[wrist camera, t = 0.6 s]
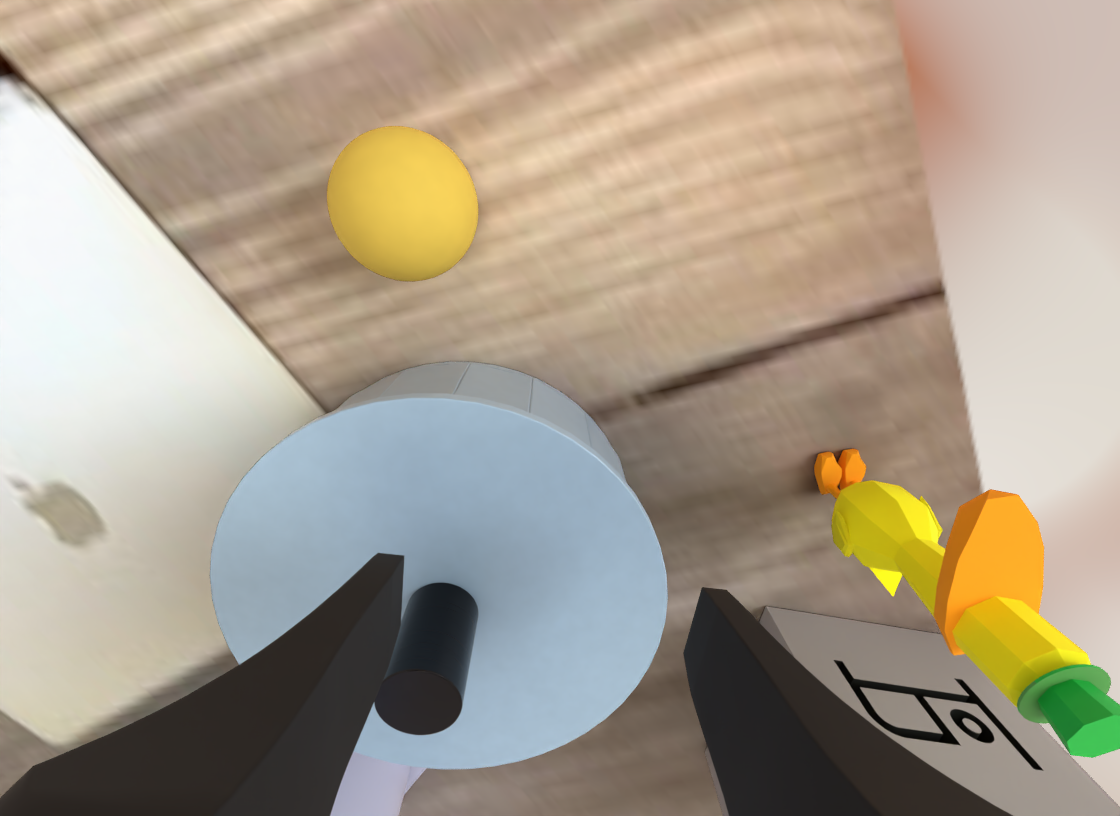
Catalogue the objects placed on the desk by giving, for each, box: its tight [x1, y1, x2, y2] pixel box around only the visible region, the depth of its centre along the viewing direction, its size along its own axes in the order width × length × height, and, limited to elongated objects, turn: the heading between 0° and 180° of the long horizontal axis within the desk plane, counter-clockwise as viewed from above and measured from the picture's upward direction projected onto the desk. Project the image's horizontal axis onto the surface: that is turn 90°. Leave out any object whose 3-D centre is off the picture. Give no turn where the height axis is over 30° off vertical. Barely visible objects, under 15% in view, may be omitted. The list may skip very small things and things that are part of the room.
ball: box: [327, 126, 478, 281], centre depth 17 cm, size 5×5×5 cm
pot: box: [336, 362, 626, 482], centre depth 21 cm, size 14×14×6 cm
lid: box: [210, 393, 668, 769], centre depth 17 cm, size 15×15×5 cm
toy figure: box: [814, 449, 1120, 757], centre depth 17 cm, size 7×4×12 cm, turn 10°
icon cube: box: [705, 606, 1120, 816], centre depth 23 cm, size 10×10×10 cm
